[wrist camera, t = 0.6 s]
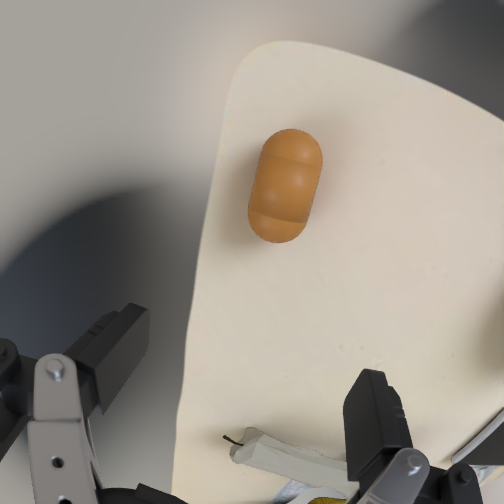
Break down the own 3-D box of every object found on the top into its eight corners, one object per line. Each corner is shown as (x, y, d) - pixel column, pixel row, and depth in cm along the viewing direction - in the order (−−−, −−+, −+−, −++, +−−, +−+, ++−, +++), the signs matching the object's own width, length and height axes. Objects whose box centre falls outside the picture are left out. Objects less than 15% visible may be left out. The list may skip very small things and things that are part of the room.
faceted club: (366, 483, 33) (215, 439, 35) (399, 445, 33) (241, 395, 34) (379, 520, 25) (202, 481, 26) (419, 482, 24) (231, 436, 25)
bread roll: (271, 125, 22) (265, 119, 18) (326, 139, 22) (332, 136, 18) (246, 226, 25) (236, 241, 21) (299, 240, 24) (299, 258, 20)
